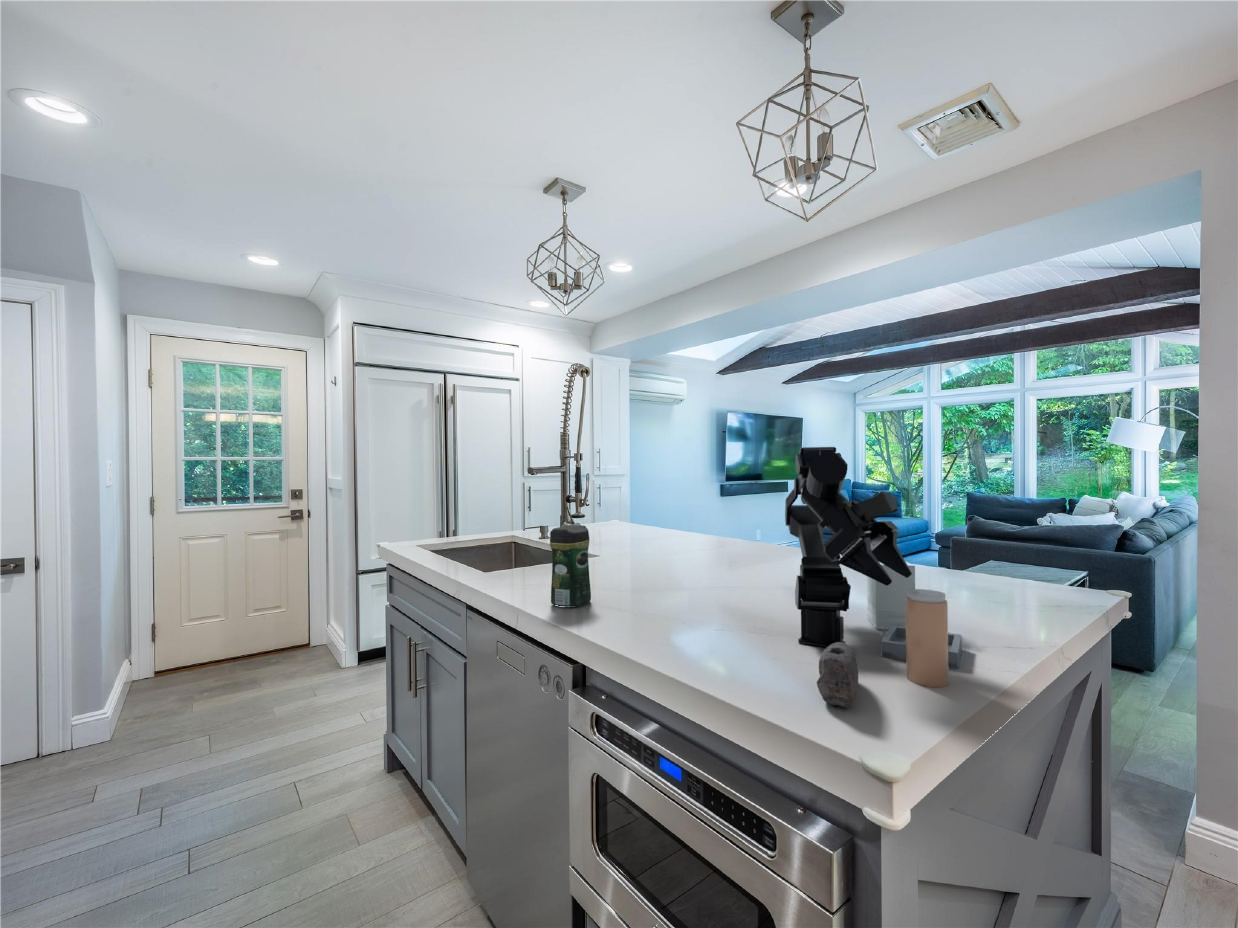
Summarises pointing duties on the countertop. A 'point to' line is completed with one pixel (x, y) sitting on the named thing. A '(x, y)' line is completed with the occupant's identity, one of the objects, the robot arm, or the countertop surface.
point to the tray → (896, 645)
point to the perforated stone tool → (838, 675)
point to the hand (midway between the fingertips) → (900, 579)
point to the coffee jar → (570, 565)
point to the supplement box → (889, 599)
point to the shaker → (927, 638)
